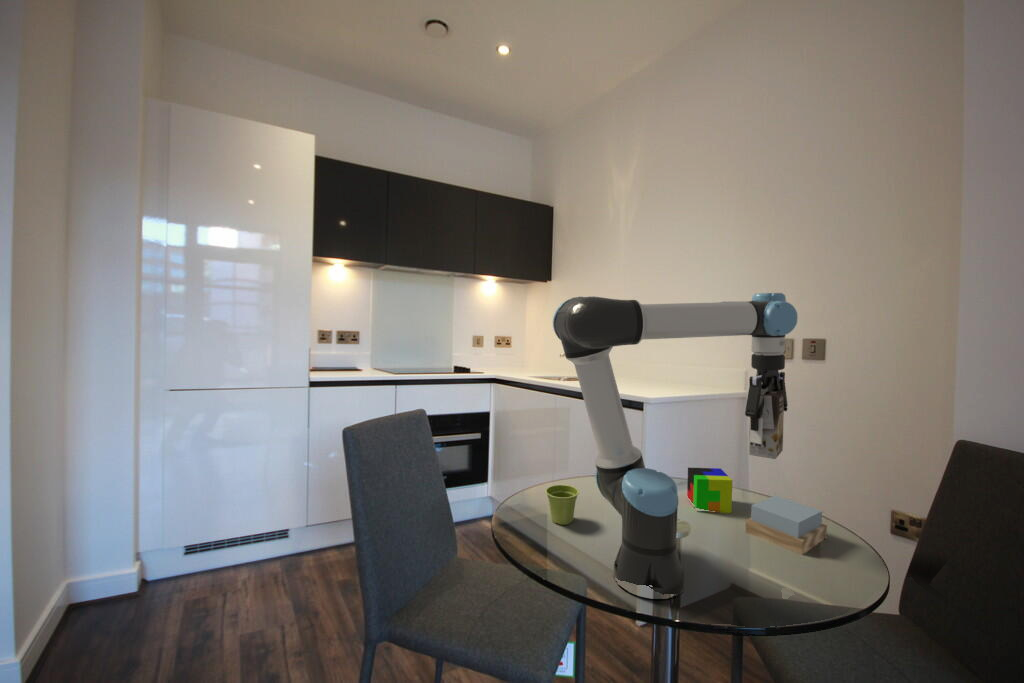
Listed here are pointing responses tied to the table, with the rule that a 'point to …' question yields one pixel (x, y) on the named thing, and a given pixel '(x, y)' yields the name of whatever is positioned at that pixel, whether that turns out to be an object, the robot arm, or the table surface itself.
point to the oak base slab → (787, 536)
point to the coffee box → (770, 427)
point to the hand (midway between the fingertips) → (766, 438)
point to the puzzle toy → (710, 489)
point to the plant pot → (562, 503)
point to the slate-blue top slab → (786, 516)
